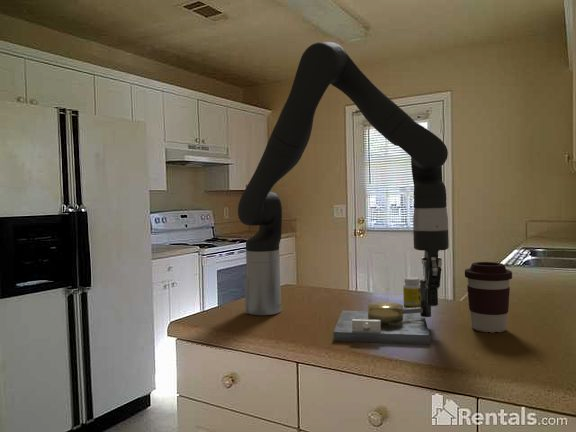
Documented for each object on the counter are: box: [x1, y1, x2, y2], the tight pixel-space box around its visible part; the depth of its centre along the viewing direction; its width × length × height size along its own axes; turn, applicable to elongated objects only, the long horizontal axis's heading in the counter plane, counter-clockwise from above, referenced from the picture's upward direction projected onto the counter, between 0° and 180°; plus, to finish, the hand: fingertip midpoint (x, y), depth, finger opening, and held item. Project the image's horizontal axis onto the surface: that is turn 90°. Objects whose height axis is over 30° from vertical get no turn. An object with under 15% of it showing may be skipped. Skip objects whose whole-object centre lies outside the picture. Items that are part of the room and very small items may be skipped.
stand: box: [333, 310, 431, 346], centre depth 106 cm, size 20×19×4 cm
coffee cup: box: [464, 261, 513, 334], centre depth 105 cm, size 10×10×15 cm
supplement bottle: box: [402, 276, 421, 308], centre depth 126 cm, size 5×5×8 cm
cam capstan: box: [367, 278, 432, 323], centre depth 107 cm, size 15×8×8 cm, turn 99°
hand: (432, 305), depth 103 cm, fingers closed
